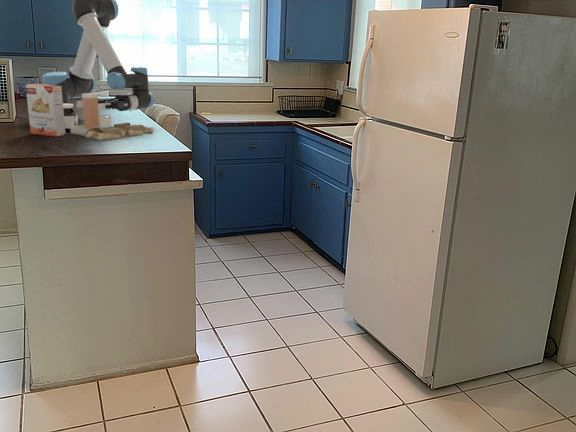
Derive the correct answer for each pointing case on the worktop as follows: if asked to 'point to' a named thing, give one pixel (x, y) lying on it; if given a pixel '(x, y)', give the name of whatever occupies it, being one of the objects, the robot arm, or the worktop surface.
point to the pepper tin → (104, 122)
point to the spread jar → (69, 117)
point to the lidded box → (90, 110)
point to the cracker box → (45, 109)
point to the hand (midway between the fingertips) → (87, 105)
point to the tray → (79, 130)
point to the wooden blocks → (118, 131)
